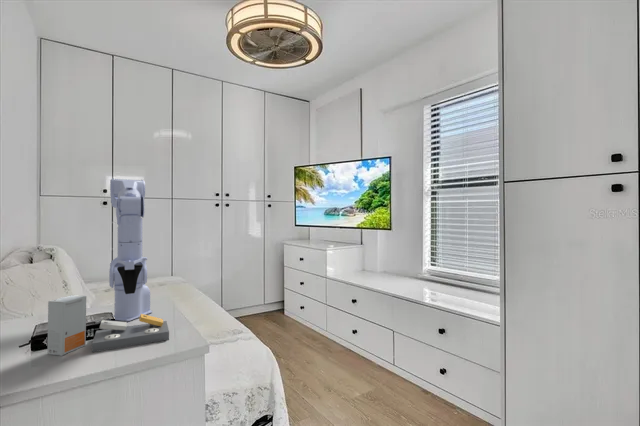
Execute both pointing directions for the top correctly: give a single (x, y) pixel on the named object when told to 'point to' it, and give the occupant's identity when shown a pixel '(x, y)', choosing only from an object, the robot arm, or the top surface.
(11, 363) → the top surface
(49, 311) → the skincare box
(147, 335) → the power strip
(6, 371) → the top surface
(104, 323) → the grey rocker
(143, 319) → the amber rocker
